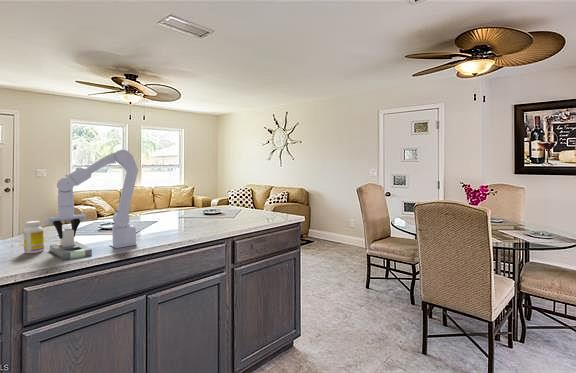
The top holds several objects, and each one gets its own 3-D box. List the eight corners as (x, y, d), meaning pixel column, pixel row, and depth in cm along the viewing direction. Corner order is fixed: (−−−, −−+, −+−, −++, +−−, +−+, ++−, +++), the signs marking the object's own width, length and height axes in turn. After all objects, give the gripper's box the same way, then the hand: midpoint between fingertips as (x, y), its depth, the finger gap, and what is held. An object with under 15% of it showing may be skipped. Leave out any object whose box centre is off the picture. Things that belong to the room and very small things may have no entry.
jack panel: (76, 246, 150) (76, 241, 149) (91, 255, 136) (91, 249, 136) (49, 250, 142) (49, 244, 142) (63, 260, 129) (63, 253, 129)
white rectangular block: (71, 244, 145) (70, 227, 144) (74, 245, 142) (73, 228, 142) (60, 245, 142) (60, 228, 142) (63, 247, 139) (62, 229, 139)
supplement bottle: (47, 249, 144) (46, 220, 143) (36, 253, 137) (35, 223, 136) (31, 249, 143) (30, 220, 143) (20, 253, 137) (18, 223, 136)
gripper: (82, 203, 149) (83, 233, 150) (43, 206, 138) (44, 238, 139) (87, 205, 144) (88, 235, 145) (47, 208, 134) (48, 241, 134)
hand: (67, 237), depth 142 cm, fingers closed on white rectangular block, 4 cm apart
